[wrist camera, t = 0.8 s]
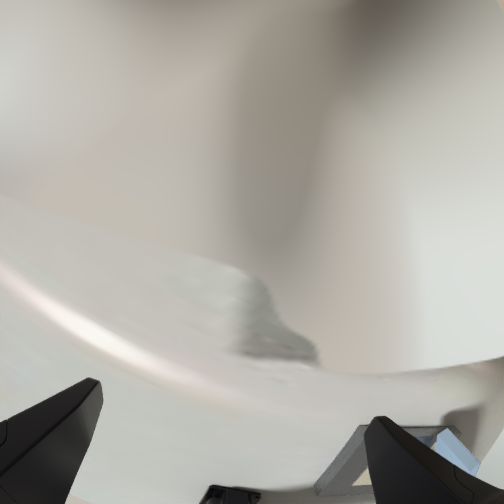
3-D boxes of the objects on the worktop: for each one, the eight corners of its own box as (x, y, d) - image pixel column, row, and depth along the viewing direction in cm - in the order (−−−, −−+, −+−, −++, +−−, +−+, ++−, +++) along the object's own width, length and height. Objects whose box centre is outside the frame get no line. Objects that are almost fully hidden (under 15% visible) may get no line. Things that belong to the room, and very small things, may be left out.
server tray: (412, 478, 27) (418, 487, 24) (313, 484, 25) (317, 496, 23) (454, 426, 26) (462, 433, 24) (359, 425, 24) (366, 437, 22)
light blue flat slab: (429, 474, 27) (458, 514, 16) (417, 482, 27) (444, 523, 16) (435, 411, 25) (483, 460, 14) (420, 421, 25) (466, 474, 14)
